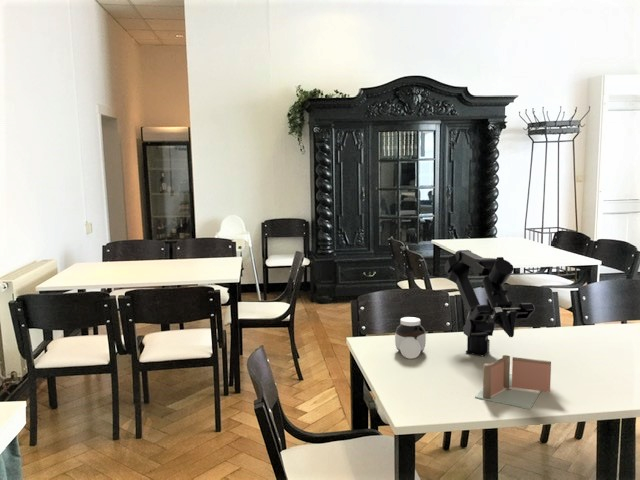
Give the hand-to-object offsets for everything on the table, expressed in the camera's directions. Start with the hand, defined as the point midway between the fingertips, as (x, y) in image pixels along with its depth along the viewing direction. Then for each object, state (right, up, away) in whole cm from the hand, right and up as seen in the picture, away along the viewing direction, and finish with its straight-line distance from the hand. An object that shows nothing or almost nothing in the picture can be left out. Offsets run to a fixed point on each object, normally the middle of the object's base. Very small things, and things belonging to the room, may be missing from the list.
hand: (511, 336), depth 160 cm
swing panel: (0, -13, -9) cm, 16 cm away
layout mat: (-3, -14, -8) cm, 16 cm away
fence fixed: (-7, -14, -10) cm, 19 cm away
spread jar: (-26, -11, +24) cm, 37 cm away
